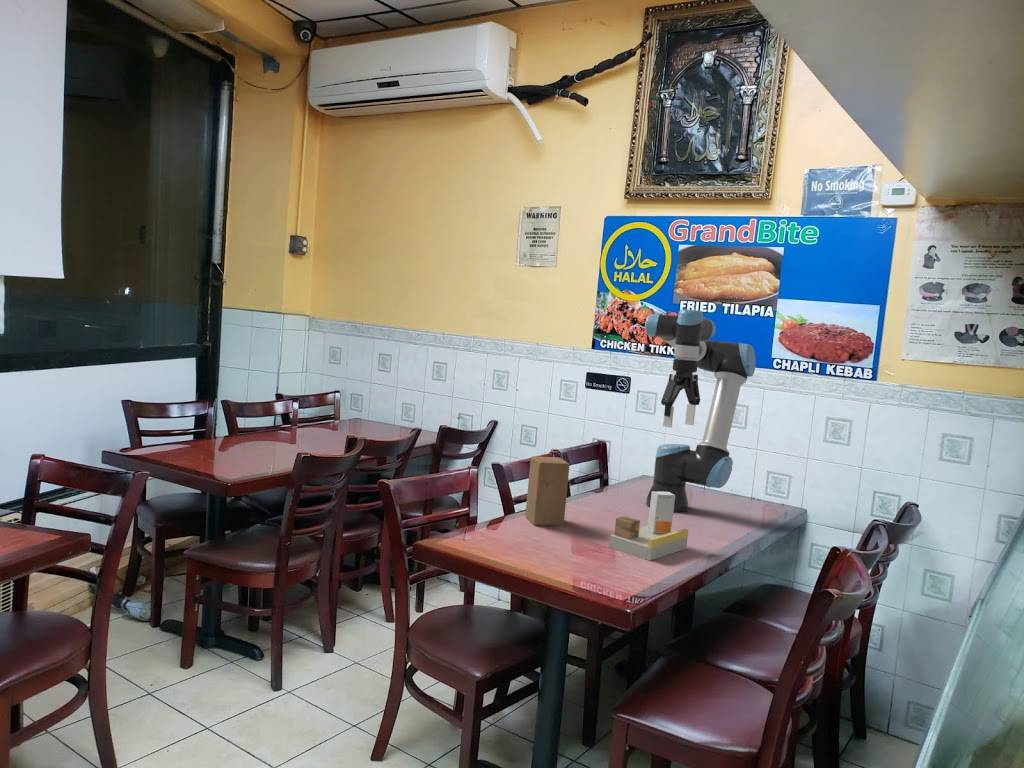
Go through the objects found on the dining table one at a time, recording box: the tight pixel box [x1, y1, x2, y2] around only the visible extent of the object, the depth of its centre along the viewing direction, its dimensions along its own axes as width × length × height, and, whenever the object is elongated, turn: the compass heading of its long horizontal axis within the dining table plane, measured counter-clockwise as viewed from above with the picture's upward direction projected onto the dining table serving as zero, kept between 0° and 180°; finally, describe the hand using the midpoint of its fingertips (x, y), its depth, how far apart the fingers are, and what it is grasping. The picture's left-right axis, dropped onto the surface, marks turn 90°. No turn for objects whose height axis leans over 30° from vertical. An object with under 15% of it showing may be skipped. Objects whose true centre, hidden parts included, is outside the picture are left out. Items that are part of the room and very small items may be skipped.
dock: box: [608, 525, 689, 561], centre depth 222 cm, size 20×14×6 cm
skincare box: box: [647, 491, 675, 534], centre depth 227 cm, size 6×4×12 cm
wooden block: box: [524, 455, 570, 527], centre depth 240 cm, size 10×10×20 cm
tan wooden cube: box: [614, 515, 641, 539], centre depth 220 cm, size 5×5×5 cm
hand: (678, 425), depth 240 cm, fingers open, 13 cm apart
